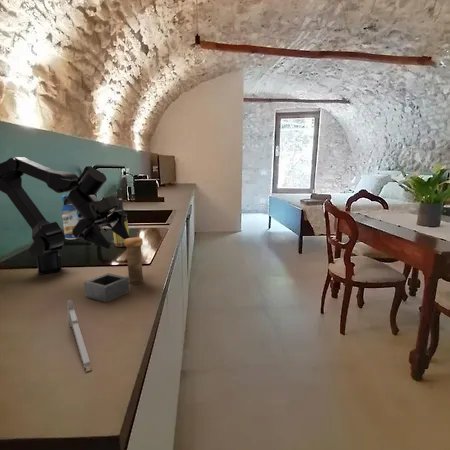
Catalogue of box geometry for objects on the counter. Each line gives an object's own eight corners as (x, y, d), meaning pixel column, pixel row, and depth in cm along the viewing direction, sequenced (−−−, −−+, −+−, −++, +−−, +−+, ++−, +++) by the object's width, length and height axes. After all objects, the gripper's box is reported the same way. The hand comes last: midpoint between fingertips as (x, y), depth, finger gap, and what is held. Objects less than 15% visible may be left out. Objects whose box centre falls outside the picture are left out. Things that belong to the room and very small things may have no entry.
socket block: (106, 302, 83) (104, 287, 82) (85, 296, 87) (84, 282, 86) (129, 291, 90) (128, 277, 89) (109, 286, 94) (108, 273, 93)
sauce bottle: (132, 244, 140) (129, 198, 136) (123, 248, 134) (120, 200, 130) (120, 243, 142) (116, 197, 138) (110, 246, 136) (106, 199, 132)
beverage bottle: (87, 237, 154) (84, 194, 150) (71, 240, 147) (66, 196, 143) (77, 234, 158) (73, 193, 154) (60, 238, 151) (55, 195, 147)
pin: (129, 286, 93) (126, 242, 91) (125, 280, 98) (122, 238, 95) (147, 282, 96) (144, 240, 93) (142, 277, 100) (139, 236, 98)
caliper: (68, 324, 73) (65, 298, 71) (74, 323, 73) (71, 297, 72) (85, 374, 56) (82, 341, 55) (92, 371, 56) (89, 339, 55)
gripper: (75, 189, 86) (114, 233, 85) (120, 184, 103) (152, 220, 102) (56, 217, 90) (92, 259, 89) (101, 208, 107) (132, 242, 106)
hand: (119, 243), depth 96 cm, fingers open, 9 cm apart
